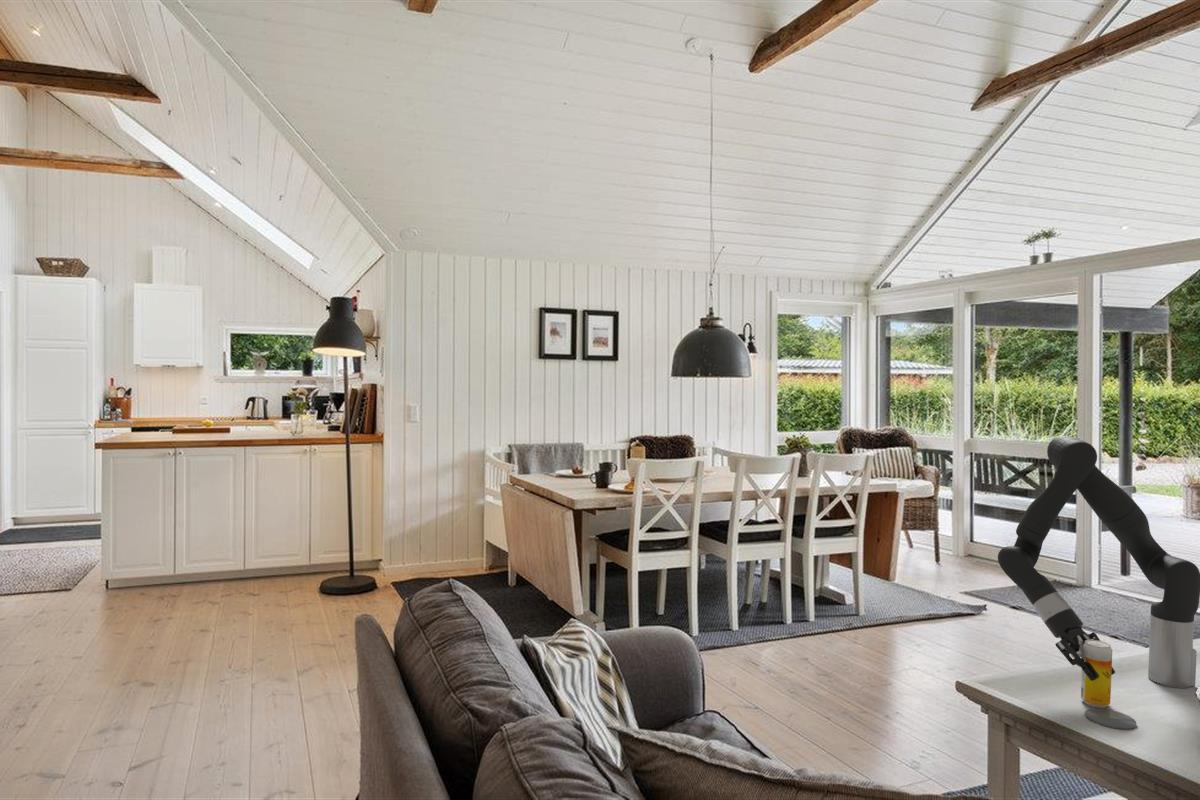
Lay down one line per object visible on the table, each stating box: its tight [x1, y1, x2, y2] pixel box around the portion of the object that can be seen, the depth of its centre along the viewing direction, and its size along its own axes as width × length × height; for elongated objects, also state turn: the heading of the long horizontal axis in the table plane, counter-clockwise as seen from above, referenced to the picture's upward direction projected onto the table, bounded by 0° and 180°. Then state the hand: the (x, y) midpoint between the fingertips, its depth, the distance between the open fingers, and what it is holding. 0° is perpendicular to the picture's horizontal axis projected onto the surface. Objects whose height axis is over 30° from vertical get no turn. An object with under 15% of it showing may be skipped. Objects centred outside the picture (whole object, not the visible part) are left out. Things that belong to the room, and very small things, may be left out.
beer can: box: [1080, 640, 1113, 709], centre depth 187 cm, size 6×6×15 cm
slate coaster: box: [1084, 707, 1137, 731], centre depth 178 cm, size 10×10×1 cm
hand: (1103, 676), depth 185 cm, fingers closed on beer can, 6 cm apart
